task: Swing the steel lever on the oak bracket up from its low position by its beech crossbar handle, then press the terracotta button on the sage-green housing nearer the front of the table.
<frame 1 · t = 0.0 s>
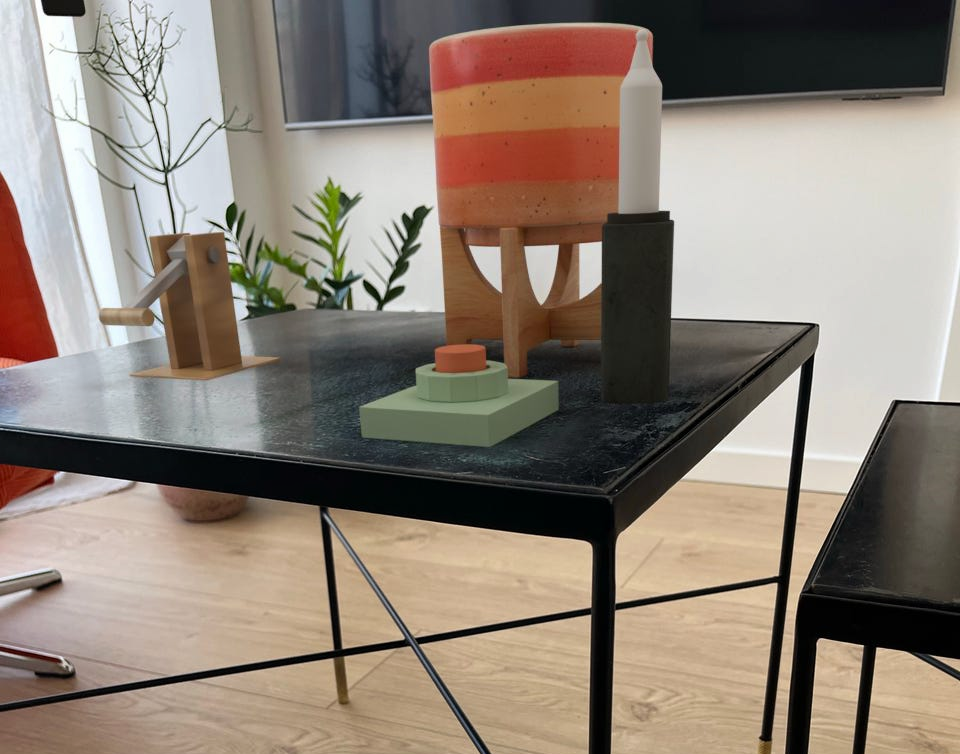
hand: (75, 6, 77), 29 cm above the table, tool pointing down, fingers open, 9 cm apart
lever: (161, 283, 89), point 9 cm above the table, hinge at -25.0°
candle: (634, 399, 80), on the table
button: (460, 360, 72), point 4 cm above the table, slide at 0.1 cm
planter: (545, 361, 98), on the table
button box: (463, 423, 74), on the table
bracket: (208, 378, 97), on the table
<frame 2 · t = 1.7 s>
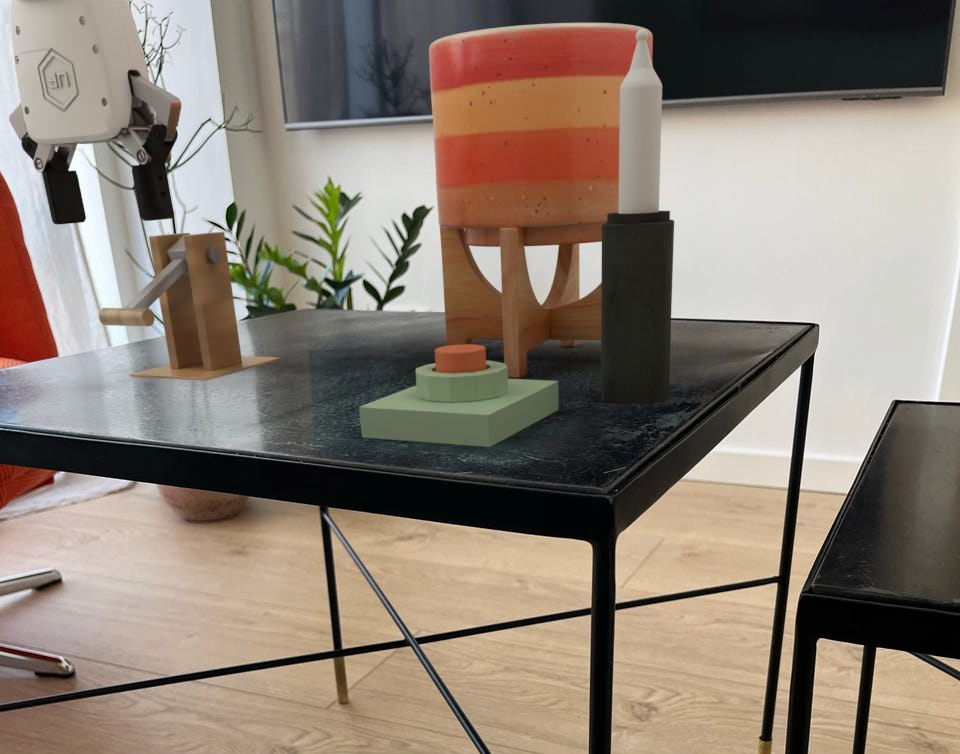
hand: (112, 221, 83), 14 cm above the table, tool pointing down, fingers open, 9 cm apart
nothing on the table moved.
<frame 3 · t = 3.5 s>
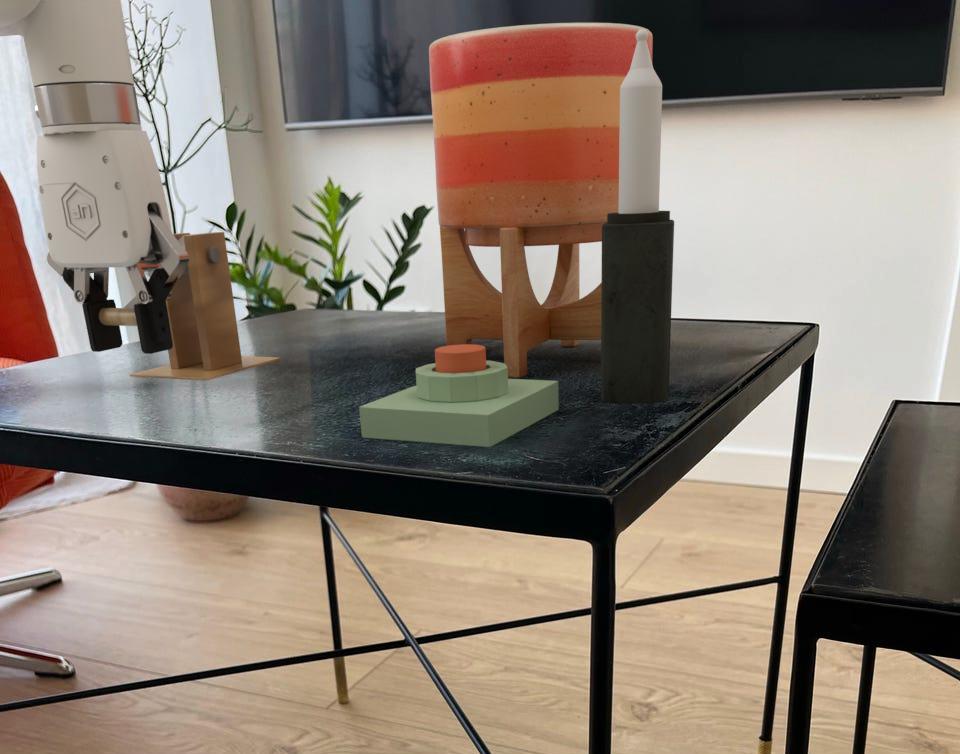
hand: (132, 348, 87), 4 cm above the table, tool pointing down, fingers closed on lever, 5 cm apart
lever: (161, 283, 89), point 9 cm above the table, hinge at -25.0°, touching gripper
everything else where it was.
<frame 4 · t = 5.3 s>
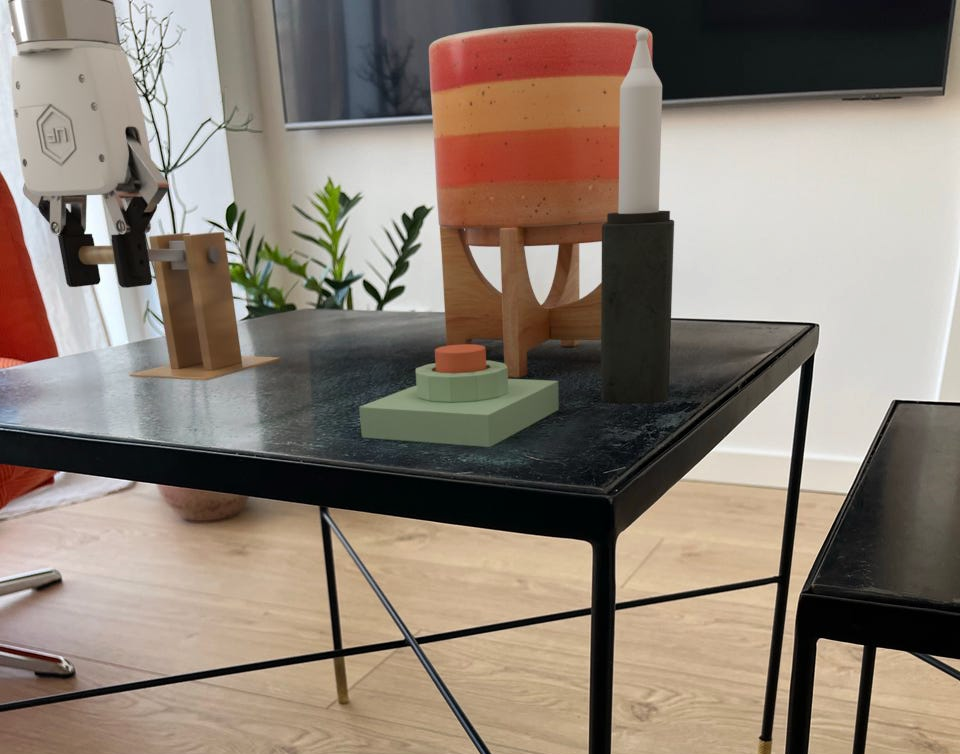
hand: (109, 283, 84), 10 cm above the table, tool pointing down, fingers closed on lever, 5 cm apart
lever: (153, 255, 88), point 11 cm above the table, hinge at 4.7°, touching gripper
everything else where it was.
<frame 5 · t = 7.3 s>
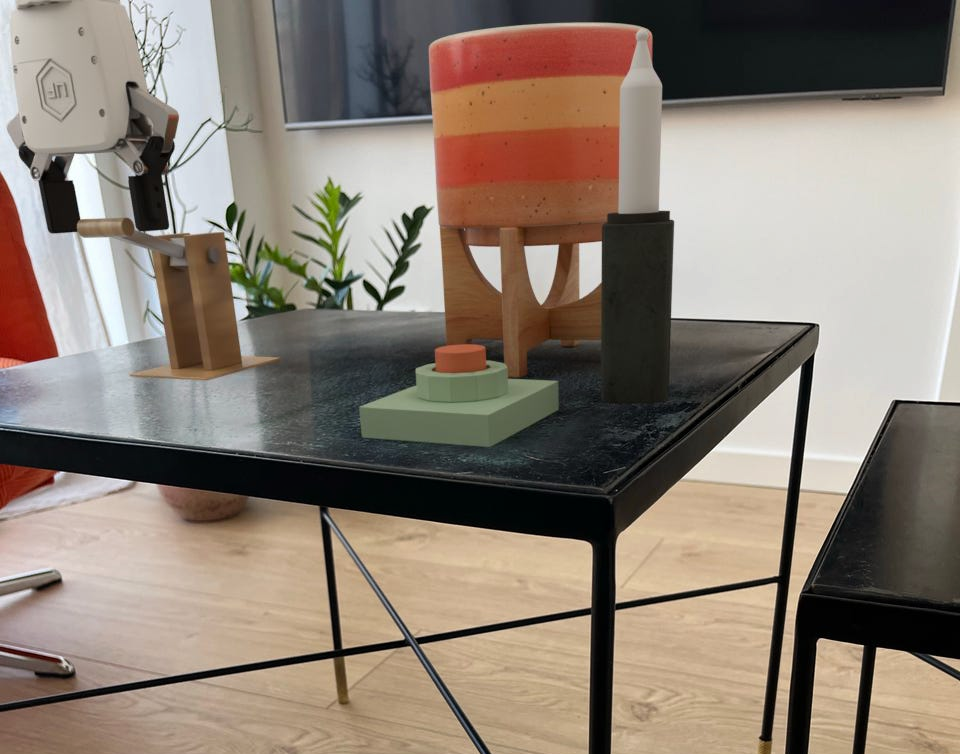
hand: (108, 231, 83), 14 cm above the table, tool pointing down, fingers open, 9 cm apart
lever: (152, 243, 88), point 12 cm above the table, hinge at 16.6°
everything else where it was.
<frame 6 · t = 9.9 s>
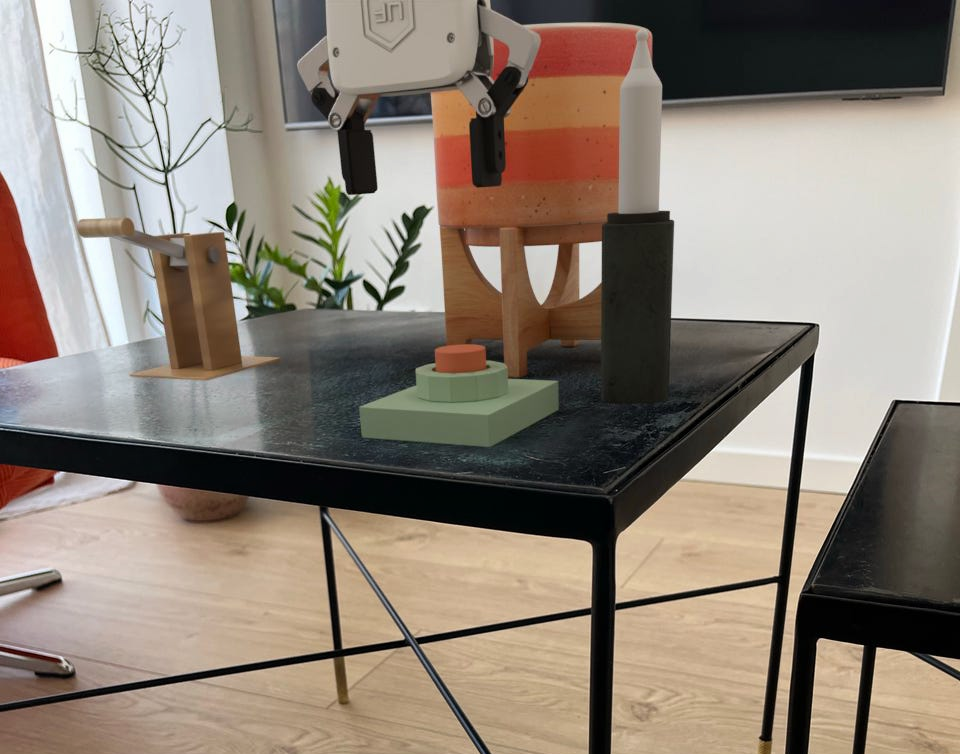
hand: (423, 190, 69), 16 cm above the table, tool pointing down, fingers open, 9 cm apart
nothing on the table moved.
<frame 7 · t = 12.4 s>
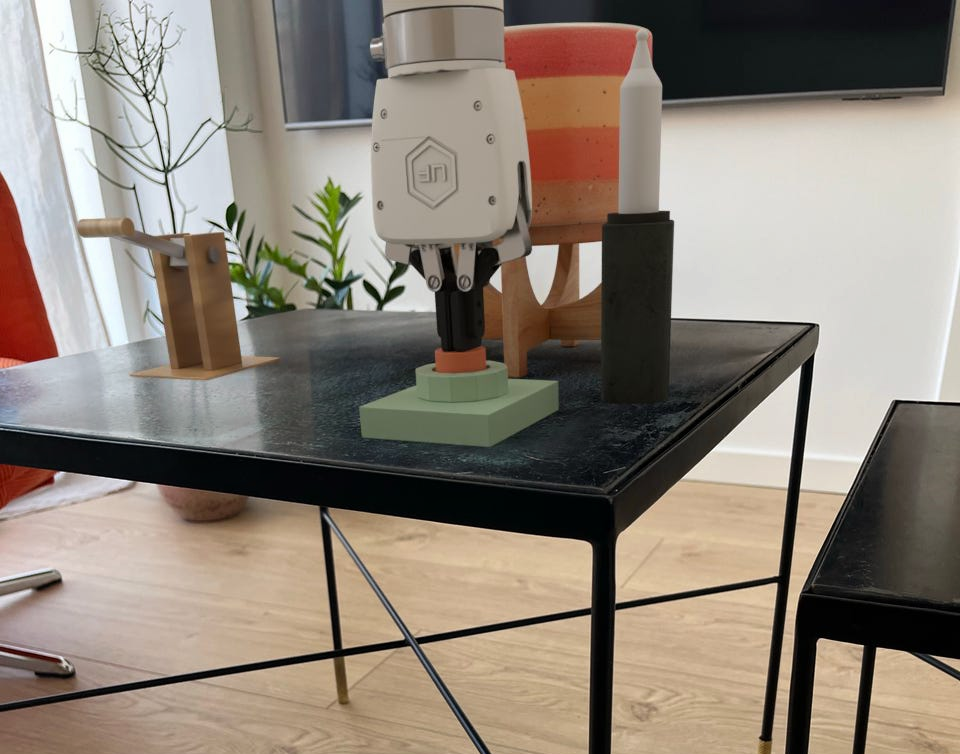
hand: (462, 348, 72), 5 cm above the table, tool pointing down, fingers closed
button: (460, 361, 72), point 4 cm above the table, slide at 0.0 cm, touching gripper
everything else where it was.
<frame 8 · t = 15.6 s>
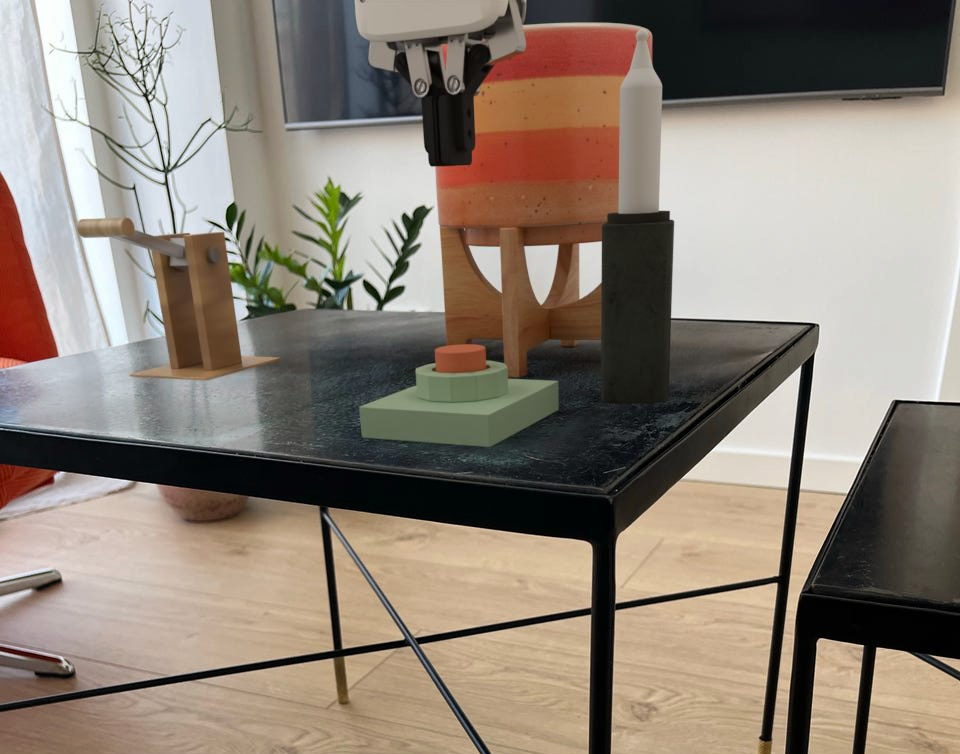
hand: (450, 164, 67), 17 cm above the table, tool pointing down, fingers closed
button: (460, 360, 72), point 4 cm above the table, slide at 0.1 cm
everything else where it was.
at the end: lever at +17° (first picture: -25°); button pushed in 1.1 cm at the most during the clip, back to where it started at the end; button slide at 0.1 cm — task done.
